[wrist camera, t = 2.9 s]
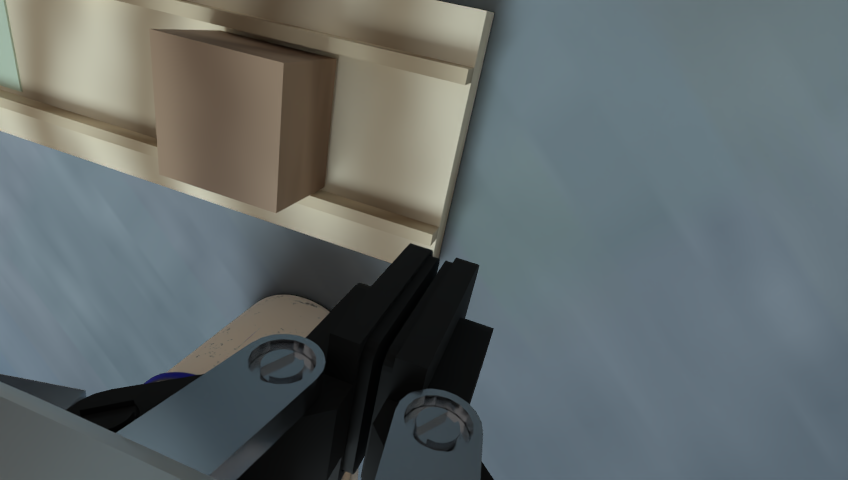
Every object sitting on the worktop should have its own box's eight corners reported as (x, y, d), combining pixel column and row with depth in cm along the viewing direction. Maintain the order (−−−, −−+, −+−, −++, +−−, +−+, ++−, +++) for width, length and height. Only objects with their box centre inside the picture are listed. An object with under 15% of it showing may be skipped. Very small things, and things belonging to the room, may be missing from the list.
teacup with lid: (221, 336, 32) (49, 472, 22) (289, 260, 28) (113, 387, 18) (345, 458, 33) (232, 645, 23) (430, 403, 29) (338, 604, 18)
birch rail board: (494, 12, 19) (481, 9, 17) (437, 263, 25) (421, 284, 23) (-61, -102, 26) (-121, -115, 24) (-13, 114, 32) (-58, 119, 29)
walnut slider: (336, 59, 21) (283, 62, 17) (324, 187, 23) (276, 213, 20) (220, 30, 22) (149, 28, 18) (221, 155, 24) (159, 174, 21)
